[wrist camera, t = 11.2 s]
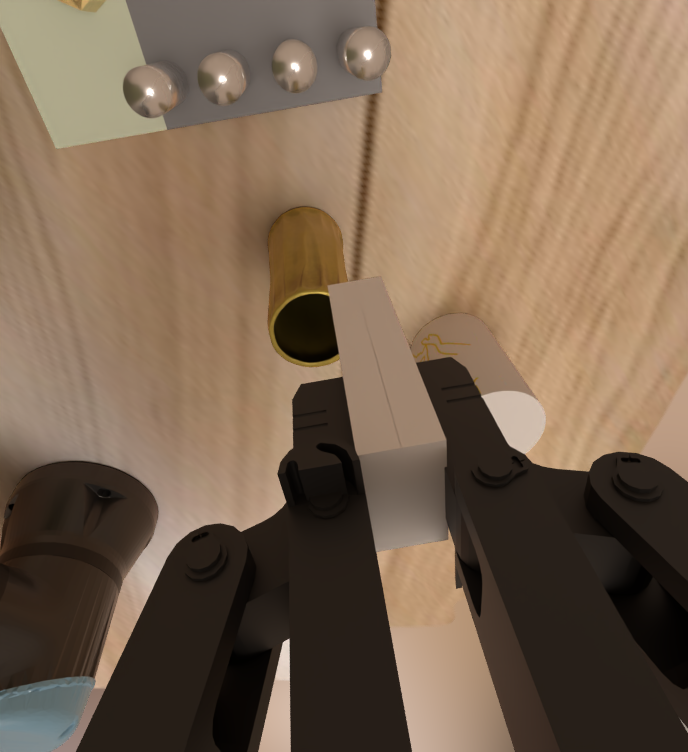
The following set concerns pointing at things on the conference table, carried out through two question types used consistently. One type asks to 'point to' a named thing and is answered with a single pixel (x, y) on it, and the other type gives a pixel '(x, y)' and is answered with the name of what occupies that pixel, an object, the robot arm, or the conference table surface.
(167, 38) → the plate
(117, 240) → the conference table surface
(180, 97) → the set of metal pegs
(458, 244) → the conference table surface
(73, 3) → the nut
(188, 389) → the conference table surface
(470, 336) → the cup
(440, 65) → the conference table surface
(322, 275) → the vase
